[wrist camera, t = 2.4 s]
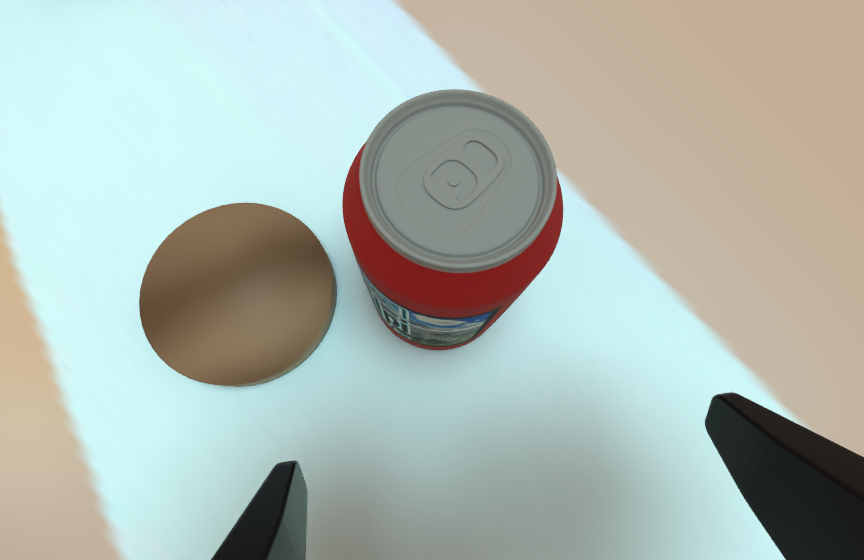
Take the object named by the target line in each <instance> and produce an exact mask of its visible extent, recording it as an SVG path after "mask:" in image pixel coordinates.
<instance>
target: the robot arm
mask: <svg viewBox="0 0 864 560" xmlns="http://www.w3.org/2000/svg"><path fill="white" fill-rule="evenodd" d="M705 427H706V430H707V433H708V435H709V436H710V438H711V440H712V442H713V444H714V445H715V447H716V449H717V451H718V453H719V454H720V456H721V458H722V460H723V462H724V463H725V465H726V467H727V469H728V471H729V472H730V474H731V476H732V478H733V480H734V481H735V483H736V485H737V487H738V488H739V490H740V492H741V494H742V495H743V497H744V499H745V500H746V502H747V503H748V505H749V506H750V508H751V509H752V511H753V512H754V514H755V515H756V517H757V518H758V520H759V521H760V523H761V524H762V525H763V527H764V528H765V530H766V531H767V533H768V534H769V536H770V537H771V539H772V540H773V542H774V543H775V545H776V546H777V547H778V549H779V550H780V552H781V553H782V555H783V556H784V558H785V559H786V560H864V457H862V456H860V455H858V454H856V453H854V452H852V451H850V450H848V449H846V448H844V447H842V446H840V445H838V444H836V443H834V442H832V441H830V440H828V439H826V438H824V437H822V436H820V435H818V434H816V433H814V432H812V431H810V430H808V429H806V428H804V427H802V426H800V425H798V424H796V423H794V422H792V421H790V420H789V419H787V418H785V417H783V416H781V415H779V414H777V413H775V412H773V411H771V410H769V409H767V408H765V407H763V406H761V405H759V404H757V403H755V402H753V401H751V400H749V399H747V398H745V397H743V396H741V395H739V394H736V393H724V394H717V395H715V396H714V397H713V398H712V400H711V403H710V406H709V410H708V413H707V416H706V419H705ZM306 526H307V487H306V483H305V480H304V477H303V474H302V471H301V468H300V465H299V463H298V462H297V461H288V462H281V463H278V464H277V465H275V467H274V468H273V469H272V471H271V472H270V474H269V475H268V477H267V478H266V480H265V481H264V483H263V484H262V485H261V487H260V488H259V490H258V491H257V493H256V494H255V496H254V497H253V499H252V500H251V502H250V503H249V505H248V506H247V508H246V509H245V511H244V512H243V513H242V515H241V516H240V518H239V519H238V521H237V522H236V524H235V525H234V527H233V528H232V530H231V531H230V533H229V534H228V536H227V537H226V539H225V540H224V541H223V543H222V544H221V546H220V547H219V549H218V550H217V552H216V553H215V555H214V556H213V558H212V559H211V560H305V558H306Z"/></svg>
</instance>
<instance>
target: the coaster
mask: <svg viewBox="0 0 864 560" xmlns="http://www.w3.org/2000/svg"><path fill="white" fill-rule="evenodd" d="M336 296H337V292H336V280H335V274H334V271H333V267H332V264H331V262H330V260H329V258H328V256H327V254H326V252H325V250H324V248H323V247H322V245H321V243H320V242H319V240H318V239H317V237H316V236H315V235H314V233H313V232H312V231H311V230H310V229H309V228H308V227H307V226H306V225H305V224H304V223H302V222H301V221H300V220H299V219H297V218H296V217H294V216H293V215H291V214H289V213H287V212H285V211H283V210H281V209H278V208H275V207H272V206H268V205H263V204H257V203H234V204H228V205H222V206H219V207H215V208H212V209H209V210H207V211H204V212H202V213H200V214H198V215H196V216H194V217H192V218H190V219H189V220H187V221H186V222H184V223H183V224H182V225H180V226H179V227H177V228H176V229H175V230H174V231H173V232H172V233H171V234H170V235H169V236H168V237H167V238H166V239H165V240H164V241H163V242H162V244H161V245H160V246H159V248H158V249H157V250H156V252H155V253H154V255H153V257H152V259H151V260H150V262H149V264H148V266H147V269H146V272H145V274H144V277H143V281H142V285H141V289H140V300H139V305H140V317H141V322H142V326H143V329H144V332H145V335H146V337H147V339H148V341H149V343H150V345H151V346H152V348H153V349H154V351H155V352H156V353H157V355H158V356H159V357H160V358H161V359H162V360H163V361H164V362H165V363H166V364H167V365H168V366H170V367H171V368H172V369H174V370H175V371H177V372H178V373H180V374H182V375H184V376H186V377H188V378H190V379H193V380H196V381H199V382H203V383H209V384H214V385H222V386H236V387H241V386H252V385H257V384H262V383H265V382H268V381H271V380H274V379H277V378H279V377H281V376H283V375H285V374H287V373H288V372H290V371H291V370H293V369H294V368H296V367H297V366H299V365H300V364H301V363H302V362H303V361H305V360H306V359H307V358H308V357H309V356H310V355H311V354H312V352H313V351H314V350H315V349H316V348H317V347H318V345H319V344H320V342H321V341H322V339H323V338H324V336H325V334H326V332H327V330H328V329H329V326H330V323H331V321H332V318H333V314H334V310H335V306H336Z"/></svg>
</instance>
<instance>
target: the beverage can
mask: <svg viewBox="0 0 864 560" xmlns="http://www.w3.org/2000/svg"><path fill="white" fill-rule="evenodd" d="M343 218H344V223H345V228H346V232H347V235H348V238H349V241H350V243H351V246H352V249H353V252H354V255H355V257H356V260H357V263H358V266H359V268H360V271H361V273H362V276H363V279H364V281H365V284H366V286H367V288H368V291H369V293H370V296H371V298H372V300H373V303H374V305H375V307H376V309H377V311H378V313H379V315H380V317H381V319H382V320H383V322H384V323H385V324H386V325H387V327H388V328H389V329H390V330H391V331H392V332H393V333H394V334H396V335H397V336H398V337H400V338H401V339H403V340H404V341H406V342H408V343H410V344H412V345H415V346H418V347H421V348H425V349H432V350H446V349H452V348H456V347H460V346H463V345H465V344H467V343H470V342H471V341H473V340H475V339H476V338H478V337H479V336H480V335H482V334H483V333H484V332H485V331H486V330H487V329H488V328H489V327H490V326H491V325H492V324H493V323H494V322H495V321H496V320H497V319H498V318H499V317H500V316H501V315H502V314H503V313H504V312H505V311H506V310H507V309H508V308H509V307H510V305H511V304H512V303H513V302H514V301H515V300H516V299H517V298H518V297H519V296H520V295H521V293H522V292H523V291H524V290H525V289H526V288H527V287H528V285H529V284H530V283H531V282H532V281H533V280H534V279H535V277H536V276H537V275H538V274H539V273H540V272H541V270H542V269H543V268H544V267H545V265H546V264H547V262H548V261H549V259H550V257H551V256H552V254H553V252H554V250H555V247H556V245H557V243H558V239H559V236H560V232H561V228H562V221H563V200H562V193H561V187H560V184H559V180H558V177H557V173H556V166H555V162H554V158H553V155H552V153H551V150H550V148H549V146H548V144H547V142H546V140H545V138H544V136H543V135H542V134H541V132H540V131H539V129H538V128H537V127H536V126H535V125H534V123H532V121H530V119H529V118H527V117H526V116H525V115H524V114H523V113H522V112H520V111H519V110H518V109H516V108H515V107H513V106H512V105H510V104H508V103H506V102H504V101H503V100H500V99H498V98H496V97H493V96H490V95H487V94H484V93H480V92H475V91H469V90H455V89H454V90H440V91H434V92H429V93H426V94H422V95H419V96H417V97H414V98H412V99H410V100H408V101H406V102H404V103H402V104H400V105H399V106H397V107H396V108H395V109H393V110H392V111H391V112H389V113H388V114H387V115H386V116H385V117H384V118H383V119H382V120H381V121H380V122H379V123H378V125H377V126H376V127H375V129H374V130H373V132H372V133H371V135H370V136H369V138H368V140H367V142H366V143H365V144H364V145H363V147H362V148H361V149H360V151H359V152H358V154H357V155H356V157H355V159H354V161H353V163H352V165H351V167H350V170H349V172H348V175H347V178H346V182H345V186H344V192H343Z"/></svg>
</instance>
